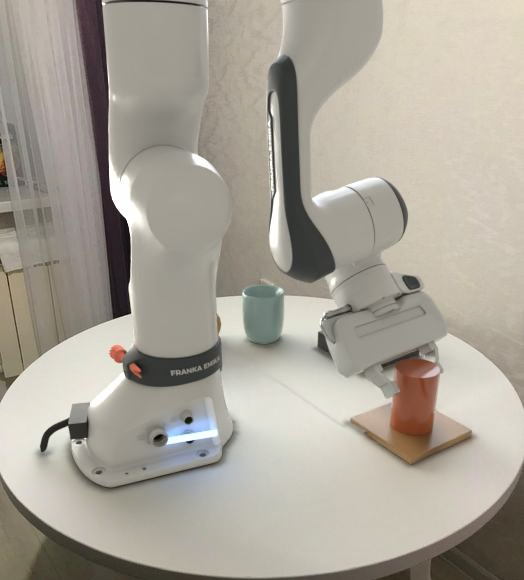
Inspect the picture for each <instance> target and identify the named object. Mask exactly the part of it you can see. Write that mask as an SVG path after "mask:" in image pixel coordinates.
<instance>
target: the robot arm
mask: <svg viewBox="0 0 524 580" xmlns="http://www.w3.org/2000/svg"><path fill="white" fill-rule="evenodd" d="M208 3H209V2H208V0H101V4H102V18H103V19H102V20H103V31H104V43H105V53H106V56H105V57H106V67H107V80H108V166H109V168H108V170H109V189H110V195H111V199H112V201H113V203H114V205H115V207H116V209H117V210H118V211H119V213H120V214H121V215H122V216H123V217H124V218H125V219H126V221H127V224H128V228H129V234H130V278H129V283H128V294H129V295H128V296H129V303H130V312H131V314H130V315H131V322H132V332H133V341H132V344H131V346H130V348H129V349H128V350H126V349H125V348H124V347H123V346H122V345H120V344H115V345H112V346H111V347H110V349H109V353H108V355H109V357H110V358H111V359H113V361H114V362H115V363H117V364H122V372H121V373H120V374H119V375H118V376H117V377H116V378H115V379H114V380H113V381H111V383H110V384H108V385H107V387H106V388H105V389H103V390H102V391H101V392H100V393H99V394H98V395H97V396H96V397H94V399H93V400H91V402H89V401H88V402H77V403H72V404H71V409H70V413H69V417H67V418H66V419H63V420H60V421H58V422H56V423H54V424H52V425H50V426H48V427H47V429H46V430H45V431H44V433H43V434H42V436H41V440H40V444H39V449H40V453H44V452H46V450H47V448H48V445H49V441H50V438H51V436H52V435H54V434H55V433H56V432H58V431H59V430H63V429H65V428H68V434H69V437H70V438H69V439H70V440H71V454H72V458H73V460H74V462H75V464H76V466H77V467H78V469H79V470H80V471H81V473H82V474H83V475H84V476H85V477H86V478H87V479H89V480H90V481H91V482H92V483H94V484H97V485H99V486H102V487H105V488H115V487H120V486H124V485H128V484H132V483H137V482H140V481H145V480H149V479H152V478H157V477H161V476H165V475H171V474H173V473H174V474H175V473H178V472H181V471H186V470H190V469H195V468H198V467H202V466H207V465H210V464H214V463H215V464H216V462H219V461H220V460H221V458H222V455H223V448H224V446H225V445H226V443H227V442H228V441H229V440H230V439H231V437H232V435H233V433H234V432H233V431H234V423H233V420H232V418H231V416H230V413H229V410H228V406H227V403H226V398H225V393H224V388H223V387H224V386H223V381H222V373H221V372H222V371H223V351H222V350H223V349H222V348H223V347H222V339H221V336H220V334H219V335H218V330H217V314H218V309H217V308H218V307H217V306H218V305H217V277H218V269H219V262H220V257H221V250H222V244H223V237H224V236H225V234H226V233H227V231H228V229H229V227H230V224H231V222H232V217H233V199H232V194H231V192H230V189H229V187H228V186H227V184H226V181H225V180H224V179H223V177H222V176H221V174H220V173H219V172H218V170H217V169H216V168H215V166H213V164H211V162H209V161H208V160H207V159H205V158H203V157H202V156H200V155H199V154H198V153H199V151H198V150H199V148H198V147H199V137H200V130H201V123H202V116H203V110H204V107H205V103H206V99H207V96H208V94H209V90H210V56H209V55H210V54H209V53H210V51H209V49H210V48H209V10H208V7H209V5H208ZM280 5H281V12H282V38H281V43H280V49H279V52H278V56H277V58H276V59H275V60H274V61H273V62H272V64H270V66H269V68H268V71H267V75H266V76H267V77H266V87H265V88H266V89H265V109H266V110H265V117H266V118H265V119H266V138H267V142H266V143H267V157H268V175H269V176H268V177H269V178H268V179H269V198H270V199H269V200H270V201H269V203H270V207H269V218H268V220H269V221H268V246H269V251H270V254H271V258H272V259H273V262H274V264H275V266H276V268H277V269H278V270H279V271H280V272H281V273H283V274H285V276H287V277H289V278H292V279H294V280H297V281H299V282H303V283H307V284H313V283H315V282H317V281H318V280H321V279H323V278H324V279H325V281H326V283H327V286H328V291H329V294H330V296H331V298H332V299H333V302H334V303H335V305H336V307H337V308H335V309H330V310H327V311H324V312H323V313H322V316H321V318H320V321H319V327H320V331H322V332H323V334H324V336H325V338H326V342H327V345H328V348H329V351H330V353H329V354H330V357H331V358H332V362H333V364H334V365H335V368H336V369H337V371H338V373H339V374H340V375H342V376H343V377H344V378H346V379H349V378H352V377H354V376H356V375H359V374H361V373H363V374H364V376H365V377H366V379H367V380H368V381H369V382H371V383H372V384H373V385H374V386H376V387H377V388H378V389H380V391H381V393H382V395H383V397H384V398H385V399H390V398H392V396H394V395H396V394H398V393H400V388H399V387H398V386H397V383H396V381H395V380H394V379H393V380H390V379H389V378H388V377H387V376H386V375H385V374H384V367H382V366H381V364H384V363H386V362H389V361H391V360H394V359H396V358H399V357H401V356H404V355H406V354H409V353H411V352H414V351H416V350H419V351H420V352H419V354H420V355H421V356H422V357H425V360H428V361H431V362H433V363H435V364H436V365H438V366H439V368H440V375H442V374H443V373H444V371H445V369H444V368H443V367H442V364H441V363H440V356H439V347H438V346H437V344H436V343H437V342H438V341H440V340H443V338H446V336H448V332H449V331H448V324H447V322H446V319H445V318H444V316H443V314H442V313H441V310H440V309H439V307H438V306H437V304H436V303H435V301H434V300H433V298H432V297H431V295H429V294H428V293H427V292H426V291H423V289H424V288H425V283H424V281H423V280H422V278H421V277H420V276H419V275H415V274H408V273H401V272H397V271H394V270H393V271H390V269H389V268H388V266H387V264H386V263H385V262H384V261H383V259H382V257H381V256H382V253H383V252H384V251H386V250H388V249H390V248H391V247H393V246H395V245H396V244H397V243H398V242H400V241H401V240H402V238H403V237H404V234H405V232H406V230H407V227H408V221H409V210H408V207H407V204H406V202H405V199H404V198H403V196H402V194H401V192H400V191H399V190H398V189H397V188H396V186H395V185H394V184H392V182H390V181H389V180H386V179H385V178H383V177H380V176H373V177H369V178H364V179H361V180H358V181H355V182H352V183H349V184H346V185H343V186H341V187H339V188H336V189H333V190H326V191H322V192H320V193H318V194H316V195H314V196H313V193H312V156H311V155H312V154H311V151H312V150H311V132H312V127H313V124H314V121H315V119H316V116H317V114H318V113H319V111H320V110H321V108H322V107H323V106H324V104H325V103H326V102H327V101H328V100H329V99H330V98H331V97H332V96H333V95H334V94H335V93H336V92H337V91H338V90H340V89H341V88H342V87H344V86H345V85H346V84H347V83H348V82H350V81H351V80H352V79H353V78H355V77H356V76H357V75H358V74H359V73H360V72H361V71H362V70H363V69H364V67H365V66H367V65H368V63H369V61H370V60H371V59H372V57H373V56H374V54H375V52H376V50H377V48H378V46H379V44H380V41H381V39H382V35H383V28H384V0H280Z"/></svg>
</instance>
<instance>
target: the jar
mask: <svg viewBox="0 0 524 580" xmlns="http://www.w3.org/2000/svg"><path fill="white" fill-rule="evenodd" d="M440 378H441V374H440V368H439V366H438V365H436V364H435V363H433V362H431V361H428V360H426V359H423V358H418V357H417V358H416V357H411V358H408V359H403V360H400V361H398V362H397V363H395V365H394V374H393V381H394V380H395V381H396V383H397V386H398V387H399V388H400V393H398V394H396V395H394V396H392V397H391V402H392V404H391V414H390V425H391V426H392V427H393V428H394V429H395V430H397V431H398V432H400V433H403V434H407V435H424V434H427V433H429V432H430V431H431V430H432V429H433V423H434V415H435V410H436V407H437V399H438V391H439V384H440Z"/></svg>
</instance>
